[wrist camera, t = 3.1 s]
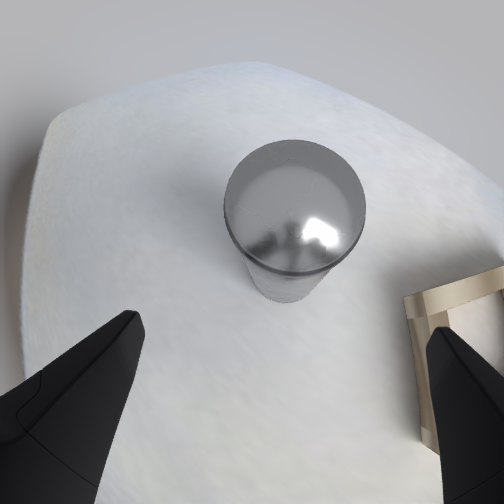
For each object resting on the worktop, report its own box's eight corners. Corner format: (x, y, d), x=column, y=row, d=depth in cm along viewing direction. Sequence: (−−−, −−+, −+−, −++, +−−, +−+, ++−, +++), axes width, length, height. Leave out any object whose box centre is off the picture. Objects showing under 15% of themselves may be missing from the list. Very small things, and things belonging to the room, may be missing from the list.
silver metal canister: (256, 310, 19) (234, 286, 9) (244, 241, 21) (213, 150, 10) (327, 296, 19) (386, 256, 9) (312, 229, 20) (344, 130, 10)
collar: (421, 443, 16) (440, 456, 13) (403, 297, 19) (422, 291, 16) (523, 388, 16) (545, 391, 13) (507, 264, 19) (529, 255, 16)
